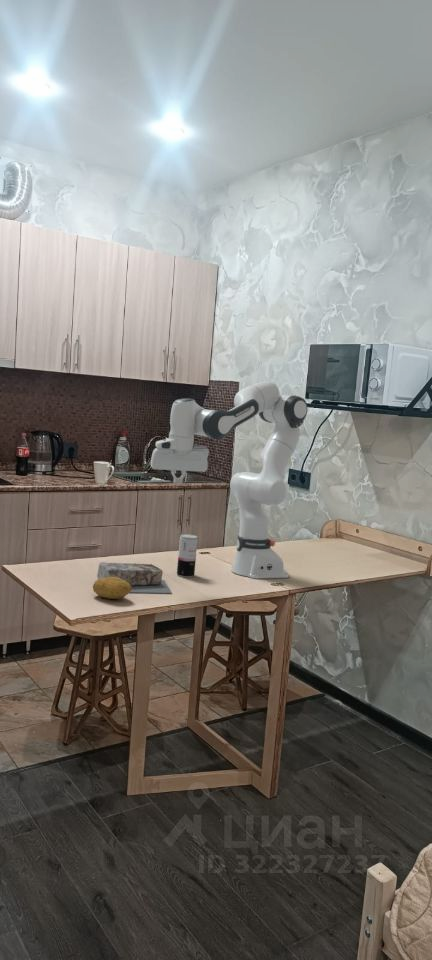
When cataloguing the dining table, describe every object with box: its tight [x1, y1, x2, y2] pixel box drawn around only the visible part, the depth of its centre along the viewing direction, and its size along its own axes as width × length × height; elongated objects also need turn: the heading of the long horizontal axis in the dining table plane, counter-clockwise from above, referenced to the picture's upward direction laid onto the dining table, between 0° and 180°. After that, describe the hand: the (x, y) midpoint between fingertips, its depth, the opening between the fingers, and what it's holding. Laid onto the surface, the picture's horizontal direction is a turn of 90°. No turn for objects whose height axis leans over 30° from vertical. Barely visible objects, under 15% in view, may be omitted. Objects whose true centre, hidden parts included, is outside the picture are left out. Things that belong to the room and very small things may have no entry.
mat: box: [129, 579, 173, 595], centre depth 244 cm, size 19×16×1 cm
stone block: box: [97, 561, 164, 586], centre depth 248 cm, size 13×7×20 cm
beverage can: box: [176, 533, 198, 578], centre depth 264 cm, size 6×6×15 cm
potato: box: [92, 577, 131, 600], centre depth 228 cm, size 9×13×7 cm
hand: (177, 482), depth 253 cm, fingers closed
